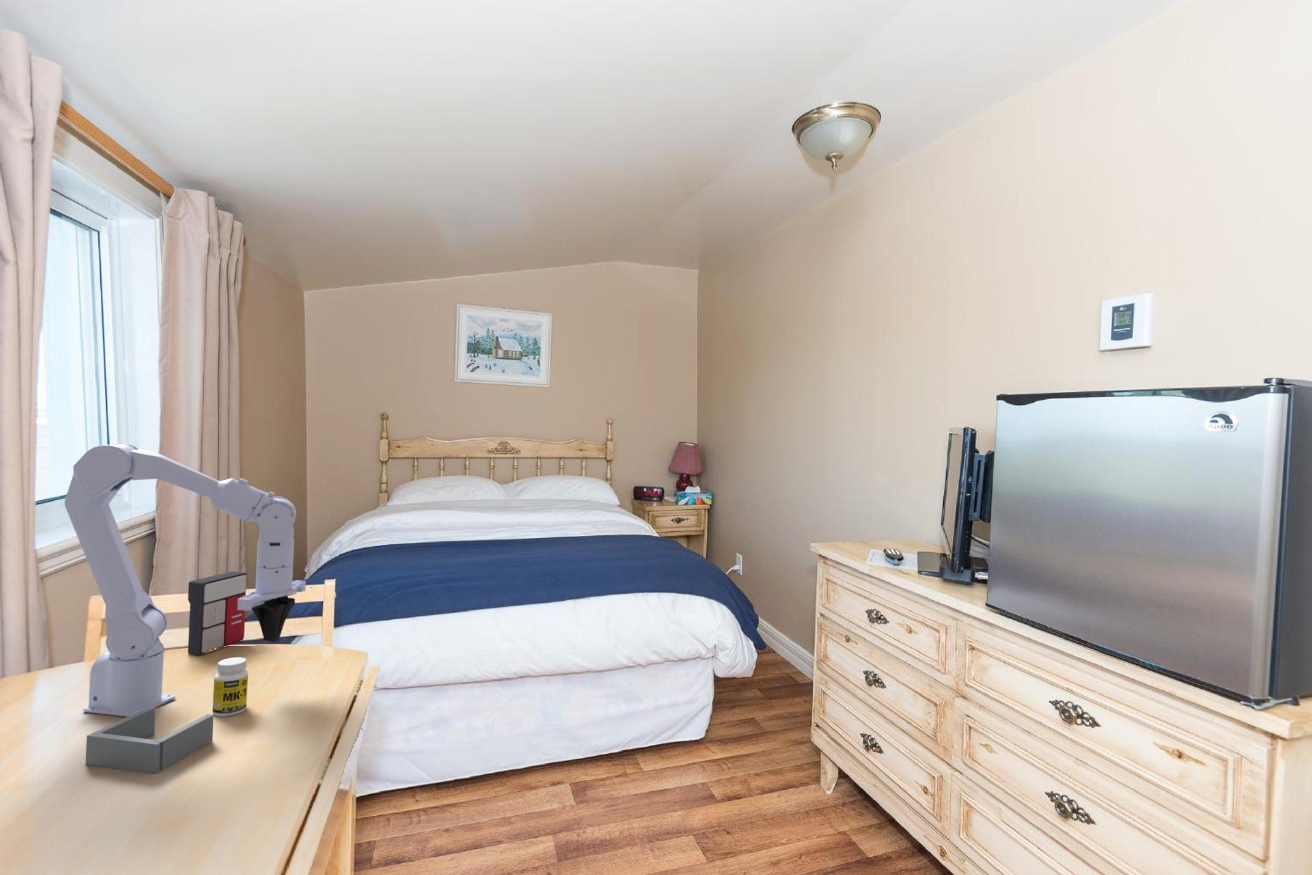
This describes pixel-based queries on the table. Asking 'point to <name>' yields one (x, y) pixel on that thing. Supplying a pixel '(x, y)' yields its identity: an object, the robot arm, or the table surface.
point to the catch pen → (145, 743)
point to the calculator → (216, 612)
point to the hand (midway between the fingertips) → (271, 639)
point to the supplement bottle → (230, 687)
